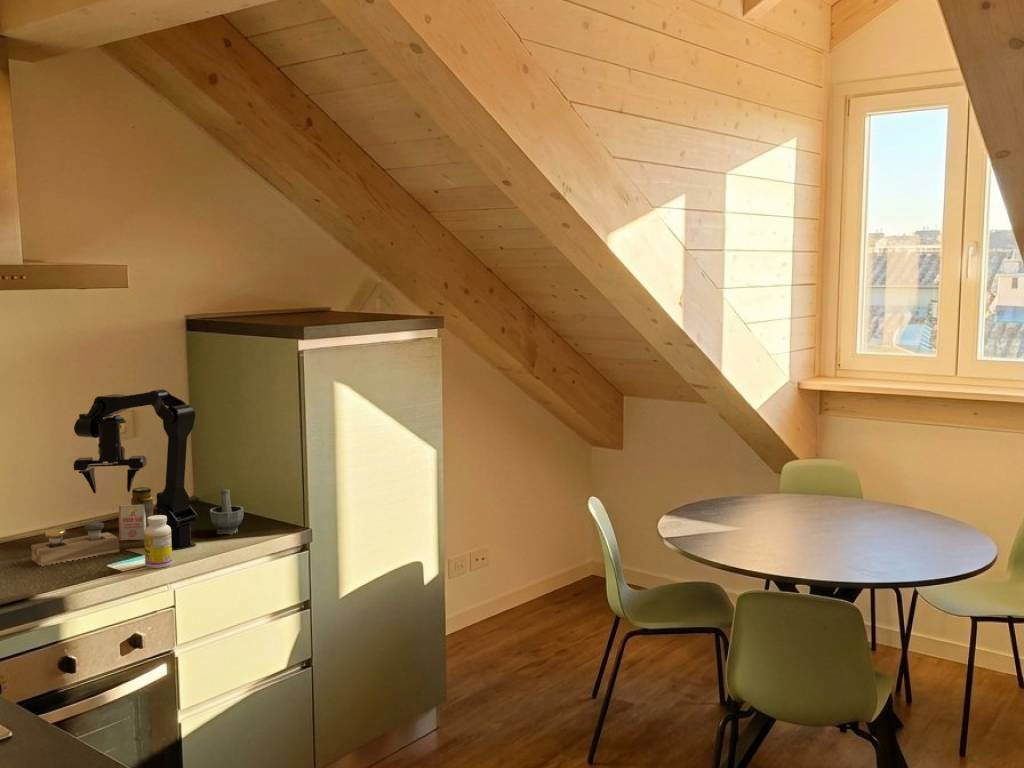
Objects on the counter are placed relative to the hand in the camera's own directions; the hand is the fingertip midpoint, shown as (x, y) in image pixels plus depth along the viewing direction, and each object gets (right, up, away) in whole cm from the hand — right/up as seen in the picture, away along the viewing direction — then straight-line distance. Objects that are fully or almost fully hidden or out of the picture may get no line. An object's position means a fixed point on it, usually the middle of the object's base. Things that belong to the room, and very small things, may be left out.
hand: (111, 492), depth 279 cm
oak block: (-2, -15, -18) cm, 23 cm away
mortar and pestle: (+31, -13, +8) cm, 34 cm away
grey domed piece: (+1, -11, -15) cm, 18 cm away
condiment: (+5, -12, +12) cm, 18 cm away
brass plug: (-6, -12, -21) cm, 25 cm away
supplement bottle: (+23, -16, -26) cm, 38 cm away
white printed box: (+6, -14, 0) cm, 15 cm away
